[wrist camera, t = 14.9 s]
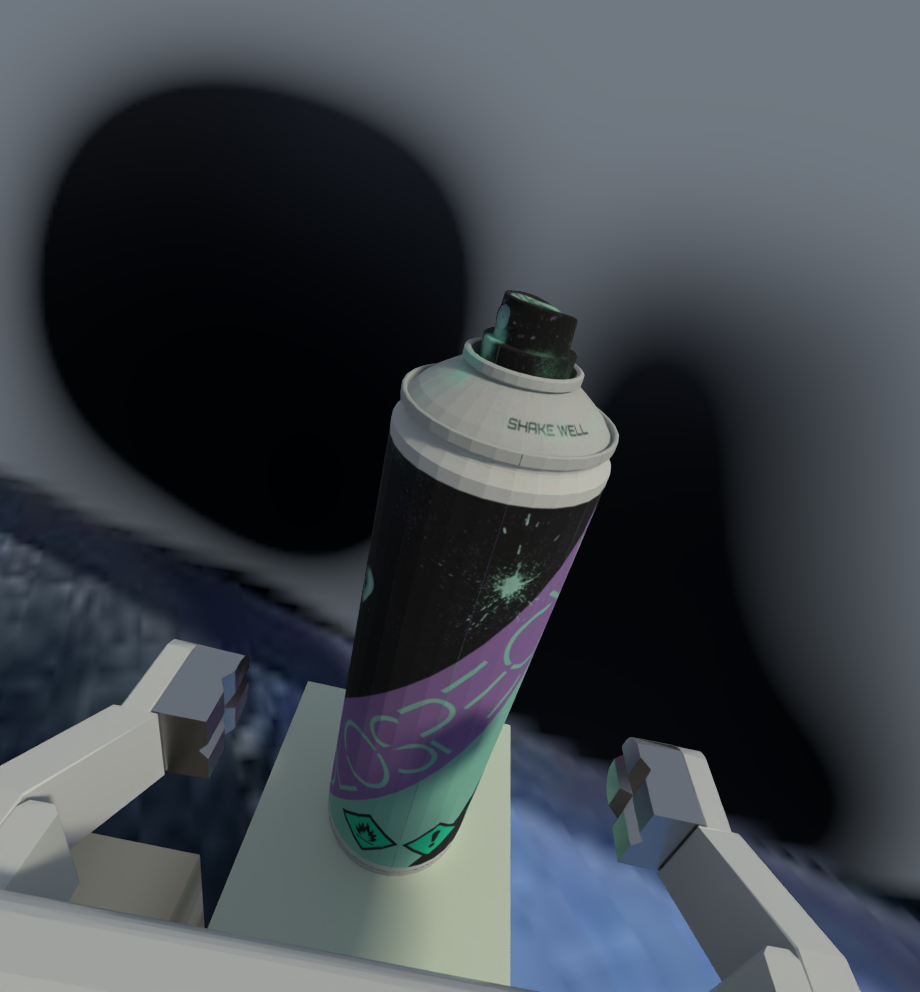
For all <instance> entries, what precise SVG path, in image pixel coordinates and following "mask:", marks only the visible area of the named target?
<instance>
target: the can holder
mask: <svg viewBox="0 0 920 992" xmlns="http://www.w3.org/2000/svg"><path fill="white" fill-rule="evenodd" d="M70 852H71V855H72V858H73V861H74V864H75V867H76V870H77V873H78V877H79V882H80V884H79V885H78V887H77V889H76V890H75V892H74V894H73V895H72V897H71V899H70V900H69V902H71V903H76V904H81V905H86V906H92V907H97V908H102V909H107V910H113V911H118V912H123V913H128V914H134V915H139V916H144V917H150V918H155V919H160V920H165V921H171V922H176V923H181V924H186V925H192V926H197V927H202V928H205V927H204V912H203V896H202V881H201V866H200V855H198V854H193V853H188V852H183V851H178V850H173V849H168V848H163V847H158V846H153V845H148V844H144V843H139V842H134V841H129V840H124V839H119V838H114V837H109V836H104V835H99V834H94V833H90V834H88V835H87V836H86V837H85V838H83V839H82V840H81V841H80V842H78V843H77V844H76V845H74V846H73V847H72V848H71V849H70Z"/></svg>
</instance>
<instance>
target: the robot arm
mask: <svg viewBox="0 0 920 992" xmlns="http://www.w3.org/2000/svg"><path fill="white" fill-rule="evenodd" d="M248 668H249V656H245V655H241V654H236V653H232V652H228V651H224V650H220V649H216V648H212V647H207V646H203V645H199V644H195V643H190V642H186V641H181V640H177V639H174V640H172V641H171V642H170V643H168V644H167V645H166V646H165V647H164V649H163V650H162V651H161V653H160V654H159V655H158V657H157V658H156V659H155V661H154V662H153V663H152V665H151V666H150V668H149V669H148V670H147V672H146V673H145V674H144V676H143V677H142V678H141V680H140V681H139V682H138V684H137V685H136V686H135V688H134V689H133V690H132V692H131V693H130V694H129V696H128V697H127V698H126V700H125V701H124V702H123V704H122V705H121V706H120V705H114V704H113V705H111V706H110V707H108V708H106V709H104V710H102V711H100V712H98V713H97V714H95V715H93V716H91V717H89V718H87V719H86V720H84V721H82V722H80V723H78V724H76V725H75V726H73V727H71V728H69V729H67V730H65V731H64V732H62V733H60V734H58V735H56V736H54V737H52V738H51V739H49V740H47V741H45V742H43V743H41V744H40V745H38V746H36V747H34V748H32V749H30V750H29V751H27V752H25V753H23V754H21V755H19V756H17V757H16V758H14V759H12V760H10V761H8V762H6V763H5V764H3V765H1V766H0V992H539V991H533V990H528V989H523V988H518V987H512V986H507V985H502V984H497V983H491V982H486V981H481V980H476V979H470V978H465V977H460V976H455V975H449V974H444V973H439V972H434V971H428V970H423V969H418V968H413V967H407V966H402V965H397V964H392V963H386V962H381V961H376V960H371V959H365V958H360V957H355V956H350V955H344V954H339V953H334V952H329V951H323V950H318V949H313V948H307V947H302V946H297V945H292V944H286V943H281V942H276V941H271V940H265V939H260V938H255V937H250V936H244V935H239V934H234V933H228V932H223V931H218V930H213V929H207V928H202V927H197V926H192V925H186V924H181V923H176V922H171V921H165V920H160V919H155V918H150V917H144V916H139V915H134V914H128V913H123V912H118V911H113V910H107V909H102V908H97V907H92V906H86V905H81V904H76V903H71V902H69V900H70V899H71V897H72V895H73V894H74V892H75V890H76V889H77V887H78V885H79V884H80V882H79V877H78V873H77V870H76V867H75V864H74V861H73V858H72V855H71V852H70V849H71V848H72V847H73V846H74V845H76V844H77V843H78V842H80V841H81V840H82V839H83V838H85V837H86V836H87V835H88V834H90V833H91V832H92V831H94V830H95V829H96V828H97V827H99V826H100V825H101V824H102V823H104V822H105V821H106V820H108V819H109V818H110V817H111V816H113V815H114V814H115V813H116V812H118V811H119V810H120V809H122V808H123V807H124V806H125V805H127V804H128V803H129V802H130V801H132V800H133V799H134V798H136V797H137V796H138V795H139V794H141V793H142V792H143V791H144V790H146V789H147V788H148V787H150V786H151V785H152V784H153V783H155V782H156V781H157V780H158V779H160V778H161V777H162V776H164V774H165V772H169V773H175V774H181V775H187V776H193V777H198V778H204V779H209V778H210V776H211V774H212V772H213V770H214V768H215V766H216V764H217V762H218V760H219V758H220V757H221V755H222V753H223V751H224V749H225V734H226V733H228V732H229V731H231V730H232V729H234V728H235V727H236V725H237V723H238V721H239V718H240V716H241V714H242V711H243V708H244V706H245V703H246V699H247V694H248V686H249V682H248V680H247V679H246V678H245V677H244V676H245V674H246V672H247V670H248ZM622 749H623V753H624V755H622V756H620V757H618V758H616V759H614V761H613V762H612V764H611V766H610V768H609V771H608V776H607V798H608V805H609V807H610V808H611V809H612V811H613V812H614V814H615V815H616V816H617V820H616V821H615V823H614V825H613V827H612V830H613V836H614V842H615V848H616V854H617V860H618V862H619V863H624V864H628V865H632V866H636V867H641V868H645V869H649V870H654V871H658V872H659V873H658V875H659V877H660V879H661V880H662V882H663V884H664V885H665V887H666V889H667V890H668V892H669V894H670V895H671V897H672V899H673V900H674V902H675V904H676V905H677V907H678V909H679V910H680V912H681V914H682V915H683V917H684V919H685V920H686V922H687V924H688V925H689V927H690V929H691V930H692V932H693V934H694V935H695V937H696V939H697V940H698V942H699V944H700V946H701V947H702V949H703V951H704V952H705V954H706V956H707V957H708V959H709V961H710V962H711V964H712V966H713V967H714V969H715V971H716V972H717V974H718V976H719V977H720V979H721V981H722V982H721V983H719V984H718V985H717V986H716V987H714V988H713V989H712V990H711V991H709V992H860V990H859V988H858V985H857V983H856V981H855V978H854V976H853V974H852V972H851V969H850V967H849V965H848V962H847V960H846V959H845V957H844V956H843V955H842V954H841V953H840V952H839V950H838V949H837V948H836V947H835V946H834V945H833V943H832V942H831V941H830V940H829V939H828V938H827V936H826V935H825V934H824V933H823V932H822V931H821V929H820V928H819V927H818V926H817V925H816V924H815V922H814V921H813V920H812V919H811V918H810V917H809V915H808V914H807V913H806V912H805V911H804V910H803V908H802V907H801V906H800V905H799V904H798V903H797V901H796V900H795V899H794V898H793V897H792V896H791V894H790V893H789V892H788V891H787V890H786V889H785V887H784V886H783V885H782V884H781V883H780V882H779V880H778V879H777V878H776V877H775V876H774V875H773V873H772V872H771V871H770V870H769V869H768V868H767V867H766V865H765V864H764V863H763V862H762V861H761V860H760V858H759V857H758V856H757V855H756V854H755V853H754V851H753V850H752V849H751V848H750V847H749V846H748V844H747V843H746V842H745V841H744V840H743V839H742V837H741V836H740V835H739V834H736V833H732V832H731V829H730V826H729V823H728V821H727V818H726V815H725V812H724V809H723V806H722V804H721V801H720V798H719V795H718V792H717V789H716V787H715V784H714V781H713V778H712V775H711V773H710V769H709V767H708V764H707V761H706V758H705V757H704V755H703V754H702V753H701V752H699V751H695V750H690V749H685V748H680V747H676V746H674V745H668V744H664V743H658V742H653V741H649V740H644V739H638V738H633V737H631V738H629V739H627V740H626V742H625V743H624V745H623V746H622Z"/></svg>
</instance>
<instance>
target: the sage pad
mask: <svg viewBox="0 0 920 992" xmlns="http://www.w3.org/2000/svg"><path fill="white" fill-rule="evenodd" d="M345 692H346V689H342V688H338V687H333V686H328V685H324V684H319V683H315V682H310V681H308V683H307V685H306V688H305V690H304V693H303V695H302V698H301V700H300V702H299V705H298V707H297V710H296V712H295V715H294V717H293V720H292V722H291V725H290V727H289V729H288V732H287V734H286V737H285V739H284V742H283V744H282V747H281V749H280V752H279V754H278V756H277V759H276V761H275V764H274V766H273V769H272V771H271V774H270V776H269V779H268V781H267V784H266V786H265V788H264V791H263V793H262V796H261V798H260V801H259V803H258V806H257V808H256V811H255V813H254V815H253V818H252V820H251V823H250V825H249V828H248V830H247V833H246V835H245V838H244V840H243V842H242V845H241V847H240V850H239V852H238V855H237V857H236V860H235V862H234V865H233V867H232V870H231V872H230V874H229V877H228V879H227V882H226V884H225V887H224V889H223V892H222V894H221V897H220V899H219V901H218V904H217V906H216V909H215V911H214V914H213V916H212V919H211V921H210V924H209V926H208V928H207V929H213V930H218V931H223V932H228V933H234V934H239V935H244V936H250V937H255V938H260V939H265V940H271V941H276V942H281V943H286V944H292V945H297V946H302V947H307V948H313V949H318V950H323V951H329V952H334V953H339V954H344V955H350V956H355V957H360V958H365V959H371V960H376V961H381V962H386V963H392V964H397V965H402V966H407V967H413V968H418V969H423V970H428V971H434V972H439V973H444V974H449V975H455V976H460V977H465V978H470V979H476V980H481V981H486V982H491V983H497V984H502V985H507V986H510V725H507V724H504V725H503V727H502V730H501V732H500V734H499V737H498V739H497V741H496V744H495V746H494V748H493V751H492V753H491V755H490V758H489V760H488V763H487V765H486V767H485V770H484V772H483V774H482V777H481V779H480V781H479V784H478V786H477V788H476V791H475V793H474V796H473V798H472V800H471V803H470V805H469V807H468V810H467V812H466V814H465V817H464V819H463V821H462V824H461V826H460V828H459V831H458V832H457V834H456V836H455V838H454V840H453V842H452V843H451V845H450V847H449V848H448V850H447V851H446V852H445V853H444V854H443V856H442V857H441V858H440V859H438V860H437V861H436V862H435V863H433V864H432V865H431V866H430V867H428V868H425V869H423V870H421V871H419V872H417V873H413V874H409V875H405V876H386V875H382V874H377V873H373V872H371V871H369V870H367V869H365V868H363V867H361V866H359V865H358V864H357V863H356V862H354V861H353V860H352V859H350V858H349V857H348V855H347V854H346V853H345V852H344V851H343V850H342V848H341V847H340V846H339V844H338V842H337V840H336V838H335V836H334V834H333V832H332V828H331V825H330V821H329V814H328V797H329V788H330V781H331V775H332V769H333V764H334V758H335V752H336V746H337V740H338V734H339V728H340V722H341V716H342V710H343V704H344V698H345Z"/></svg>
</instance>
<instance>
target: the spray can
mask: <svg viewBox="0 0 920 992" xmlns="http://www.w3.org/2000/svg"><path fill="white" fill-rule="evenodd" d="M576 325H577V319H576V318H574V317H572V316H569V315H566V314H563V313H561V312H560V311H559V310H557V309H556V308H555V307H554V306H552V305H551V304H549V303H548V302H546V301H544V300H542V299H541V298H539V297H537V296H534V295H532V294H529V293H525V292H521V291H512V290H507V291H506V292H505V294H504V297H503V301H502V304H501V306H500V308H499V310H498V312H497V317H496V324H495V327H491V328H488V329H486V330H485V331H484V334H483V337H477V338H473V339H470V340H468V341H467V342H466V343H465V345H464V350H463V354H462V355H459V356H457V357H454V358H451V359H448V360H445V361H443V362H440V363H435V364H429V365H424V366H421V367H418V368H415V369H414V370H412V371H411V372H409V373H408V374H406V376H405V378H404V379H403V381H402V387H401V400H400V401H399V402H398V403H397V404H396V406H395V408H394V410H393V413H392V418H391V425H390V431H389V436H388V442H387V449H386V454H385V460H384V466H383V472H382V478H381V484H380V490H379V496H378V502H377V508H376V514H375V520H374V526H373V531H372V538H371V543H370V550H369V556H368V561H367V568H366V573H365V580H364V585H363V591H362V597H361V603H360V610H359V615H358V621H357V627H356V633H355V639H354V645H353V650H352V656H351V662H350V668H349V674H348V680H347V686H346V692H345V698H344V704H343V710H342V716H341V722H340V728H339V734H338V740H337V746H336V752H335V758H334V764H333V769H332V775H331V781H330V788H329V797H328V814H329V821H330V825H331V828H332V832H333V834H334V836H335V838H336V840H337V842H338V844H339V846H340V847H341V848H342V850H343V851H344V852H345V853H346V854H347V855H348V857H349V858H350V859H352V860H353V861H354V862H356V863H357V864H358V865H359V866H361V867H363V868H365V869H367V870H369V871H371V872H373V873H377V874H382V875H386V876H405V875H409V874H413V873H417V872H419V871H421V870H423V869H425V868H428V867H430V866H431V865H432V864H433V863H435V862H436V861H437V860H438V859H440V858H441V857H442V856H443V854H444V853H445V852H446V851H447V850H448V848H449V847H450V845H451V843H452V842H453V840H454V838H455V836H456V834H457V832H458V831H459V828H460V826H461V824H462V821H463V819H464V817H465V814H466V812H467V810H468V807H469V805H470V803H471V800H472V798H473V796H474V793H475V791H476V788H477V786H478V784H479V781H480V779H481V777H482V774H483V772H484V770H485V767H486V765H487V763H488V760H489V758H490V755H491V753H492V751H493V748H494V746H495V744H496V741H497V739H498V737H499V734H500V732H501V730H502V727H503V725H504V722H505V720H506V718H507V715H508V713H509V711H510V708H511V706H512V704H513V701H514V699H515V697H516V694H517V692H518V689H519V687H520V685H521V682H522V680H523V678H524V675H525V673H526V671H527V668H528V666H529V663H530V661H531V659H532V657H533V654H534V652H535V649H536V647H537V645H538V642H539V640H540V637H541V635H542V633H543V631H544V628H545V626H546V624H547V621H548V619H549V616H550V614H551V612H552V609H553V607H554V604H555V602H556V600H557V598H558V595H559V593H560V590H561V588H562V586H563V584H564V581H565V579H566V576H567V574H568V572H569V569H570V567H571V565H572V562H573V560H574V558H575V555H576V553H577V551H578V548H579V546H580V543H581V541H582V539H583V536H584V534H585V532H586V529H587V527H588V524H589V522H590V520H591V517H592V515H593V513H594V510H595V508H596V506H597V503H598V501H599V498H600V496H601V494H602V492H603V489H604V487H605V485H606V482H607V479H608V478H609V475H610V469H611V464H610V461H609V458H610V457H611V456H612V454H613V453H614V451H615V449H616V446H617V444H618V436H619V434H618V432H617V429H616V427H615V425H614V424H613V423H612V422H611V420H610V419H609V418H608V417H607V416H606V415H605V414H604V413H603V412H602V411H601V410H599V409H598V408H597V407H596V406H595V405H594V404H593V402H592V401H591V400H590V399H589V397H588V396H587V395H586V393H585V392H584V391H583V390H582V389H581V383H582V381H583V378H584V373H583V371H582V370H581V369H580V368H579V367H578V366H577V365H576V364H575V362H576V359H577V355H576V353H575V352H574V351H573V350H571V349H570V347H571V343H572V340H573V336H574V333H575V329H576Z"/></svg>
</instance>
